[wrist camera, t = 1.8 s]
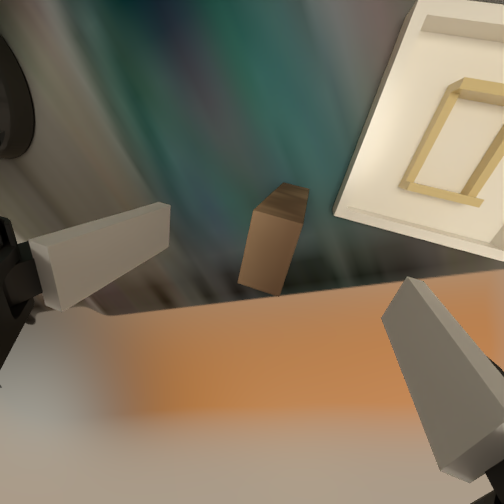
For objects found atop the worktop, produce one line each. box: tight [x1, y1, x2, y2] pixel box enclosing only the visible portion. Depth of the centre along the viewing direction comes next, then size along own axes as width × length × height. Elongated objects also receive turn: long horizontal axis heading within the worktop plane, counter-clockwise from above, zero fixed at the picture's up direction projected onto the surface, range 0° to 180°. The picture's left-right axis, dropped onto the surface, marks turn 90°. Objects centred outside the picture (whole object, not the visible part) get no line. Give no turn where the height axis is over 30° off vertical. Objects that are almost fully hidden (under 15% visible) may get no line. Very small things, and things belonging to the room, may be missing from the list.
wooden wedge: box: [238, 182, 309, 297], centre depth 17 cm, size 3×5×12 cm, turn 167°
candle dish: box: [332, 0, 504, 262], centre depth 16 cm, size 14×14×3 cm
